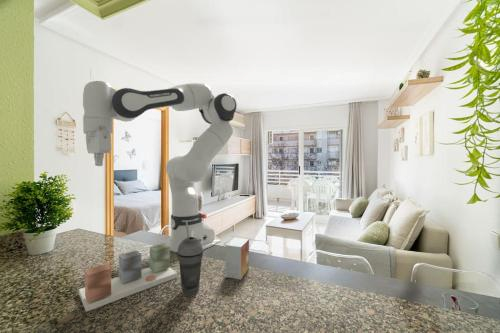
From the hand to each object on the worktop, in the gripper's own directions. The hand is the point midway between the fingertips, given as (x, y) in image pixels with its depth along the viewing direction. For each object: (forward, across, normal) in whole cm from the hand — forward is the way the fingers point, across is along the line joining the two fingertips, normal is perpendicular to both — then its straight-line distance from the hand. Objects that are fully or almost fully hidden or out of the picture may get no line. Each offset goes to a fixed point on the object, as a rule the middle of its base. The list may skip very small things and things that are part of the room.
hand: (98, 166), depth 83 cm
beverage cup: (+35, -40, -14) cm, 55 cm away
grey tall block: (+33, -24, -3) cm, 41 cm away
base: (+35, -25, -3) cm, 43 cm away
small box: (+35, -41, -31) cm, 62 cm away
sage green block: (+33, -24, -12) cm, 43 cm away
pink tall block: (+33, -28, +6) cm, 44 cm away
